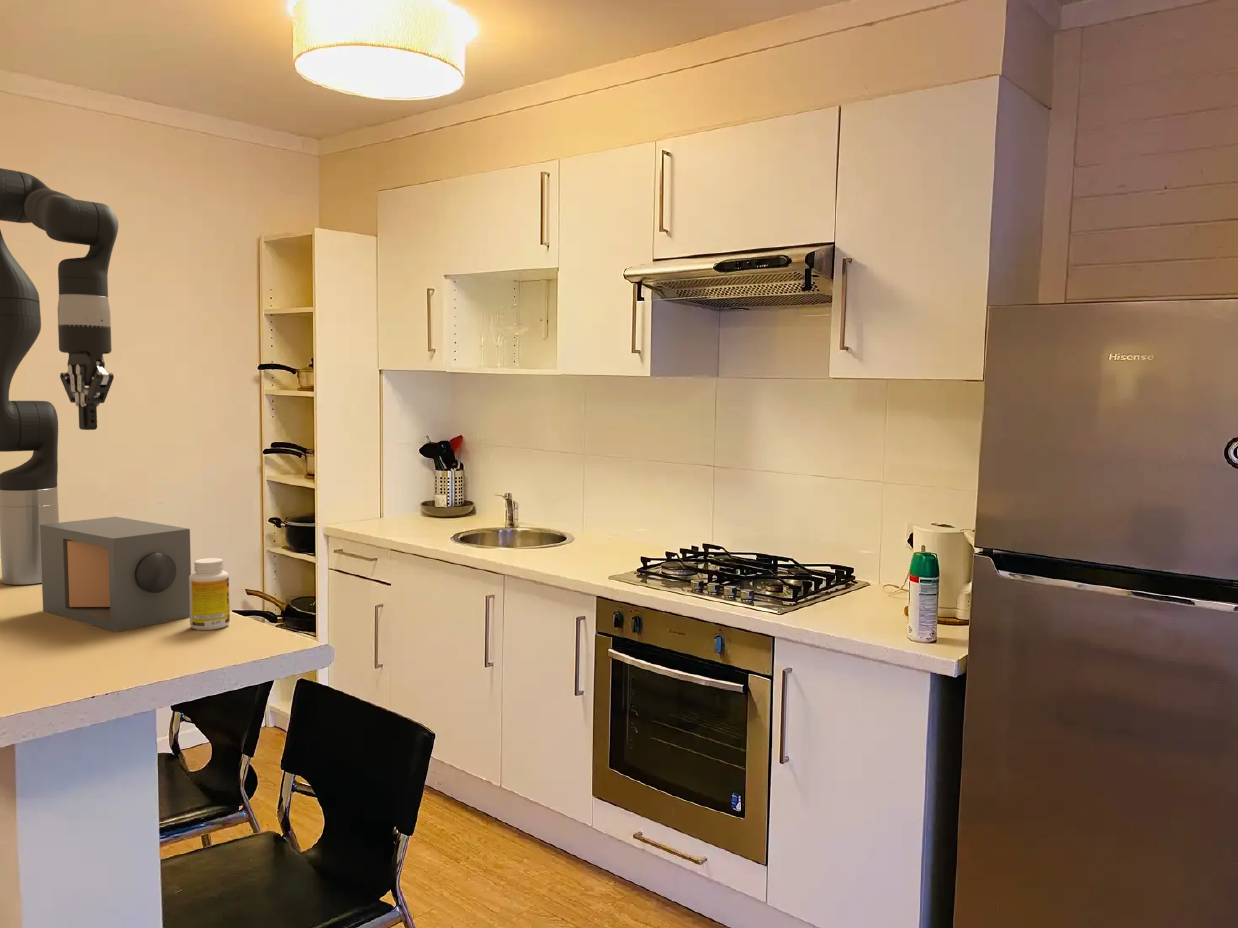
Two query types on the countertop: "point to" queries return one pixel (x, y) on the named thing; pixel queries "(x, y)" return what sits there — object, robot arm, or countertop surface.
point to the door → (88, 575)
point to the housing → (121, 571)
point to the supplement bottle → (209, 595)
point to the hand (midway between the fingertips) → (88, 429)
